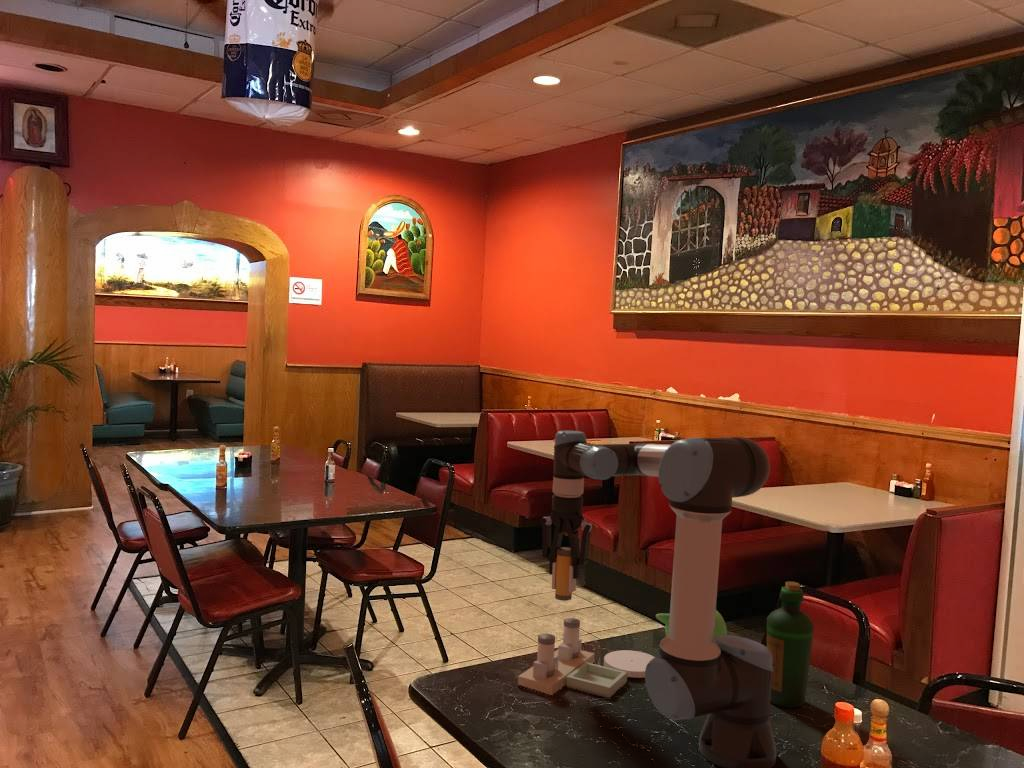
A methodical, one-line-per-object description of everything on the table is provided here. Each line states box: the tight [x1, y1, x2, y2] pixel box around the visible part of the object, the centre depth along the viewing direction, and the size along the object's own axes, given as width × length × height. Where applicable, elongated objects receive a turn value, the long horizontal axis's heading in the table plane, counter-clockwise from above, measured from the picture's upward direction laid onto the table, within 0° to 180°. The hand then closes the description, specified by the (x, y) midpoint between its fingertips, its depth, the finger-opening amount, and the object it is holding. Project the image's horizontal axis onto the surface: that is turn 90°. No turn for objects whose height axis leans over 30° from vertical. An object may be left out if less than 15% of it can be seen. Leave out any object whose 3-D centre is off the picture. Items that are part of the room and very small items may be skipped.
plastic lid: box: [603, 649, 656, 679], centre depth 213 cm, size 14×14×2 cm
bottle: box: [766, 581, 815, 709], centre depth 196 cm, size 11×11×28 cm
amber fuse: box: [554, 547, 573, 602], centre depth 205 cm, size 4×4×12 cm
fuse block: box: [517, 617, 596, 696], centre depth 207 cm, size 24×9×12 cm, turn 150°
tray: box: [565, 662, 628, 699], centre depth 202 cm, size 11×11×2 cm
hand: (563, 589), depth 206 cm, fingers closed on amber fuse, 4 cm apart
